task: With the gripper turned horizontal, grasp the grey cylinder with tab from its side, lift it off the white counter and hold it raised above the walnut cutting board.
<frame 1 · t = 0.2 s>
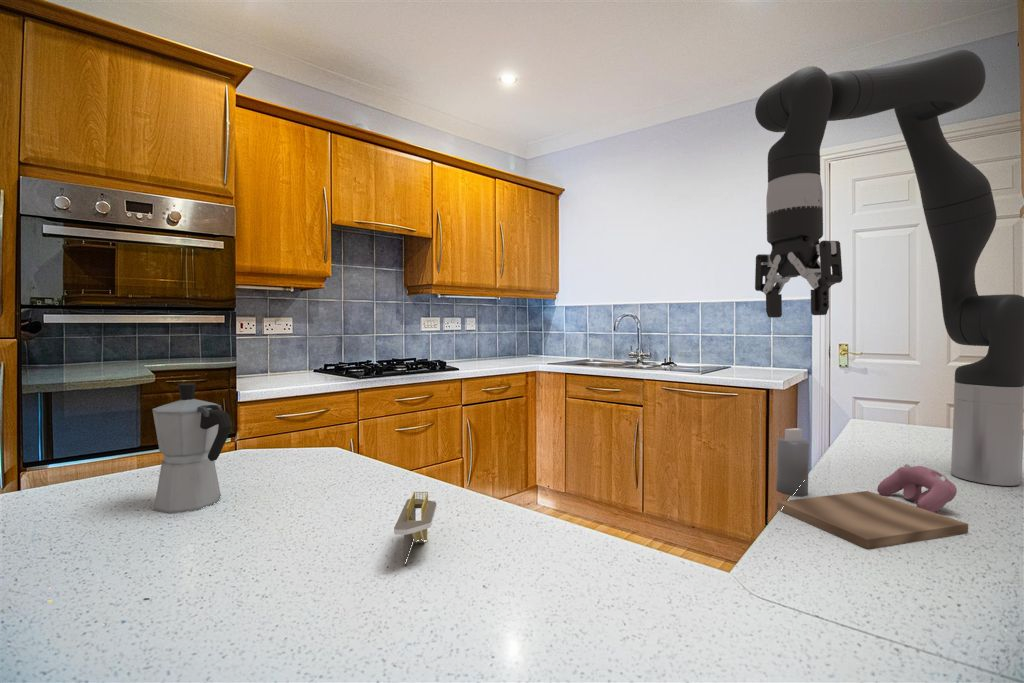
hand: (795, 316, 78), 29 cm above the counter, tool pointing down, fingers open, 8 cm apart
video game controller: (915, 505, 79), on the counter
platform: (417, 556, 61), on the counter
walnut board: (867, 520, 72), on the counter
coffee maker: (193, 505, 76), on the counter
grey cylinder with tab: (791, 491, 85), on the counter
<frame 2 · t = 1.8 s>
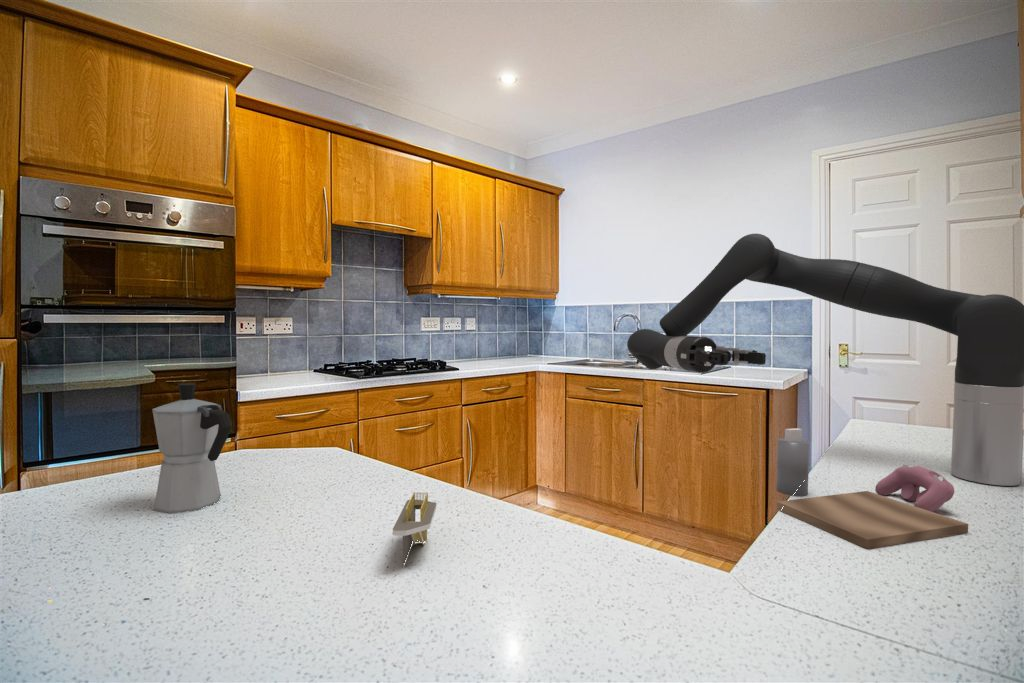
hand: (745, 359, 95), 21 cm above the counter, tool horizontal, fingers open, 8 cm apart
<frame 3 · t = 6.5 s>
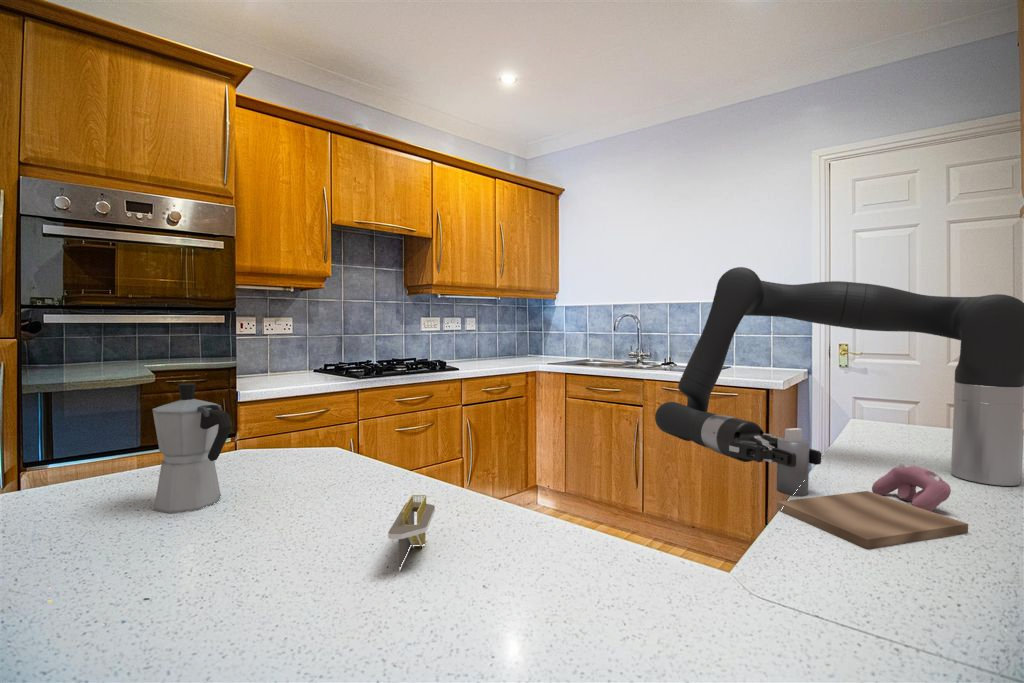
hand: (806, 459, 82), 6 cm above the counter, tool horizontal, fingers closed on grey cylinder with tab, 4 cm apart
grey cylinder with tab: (792, 491, 85), on the counter, touching gripper
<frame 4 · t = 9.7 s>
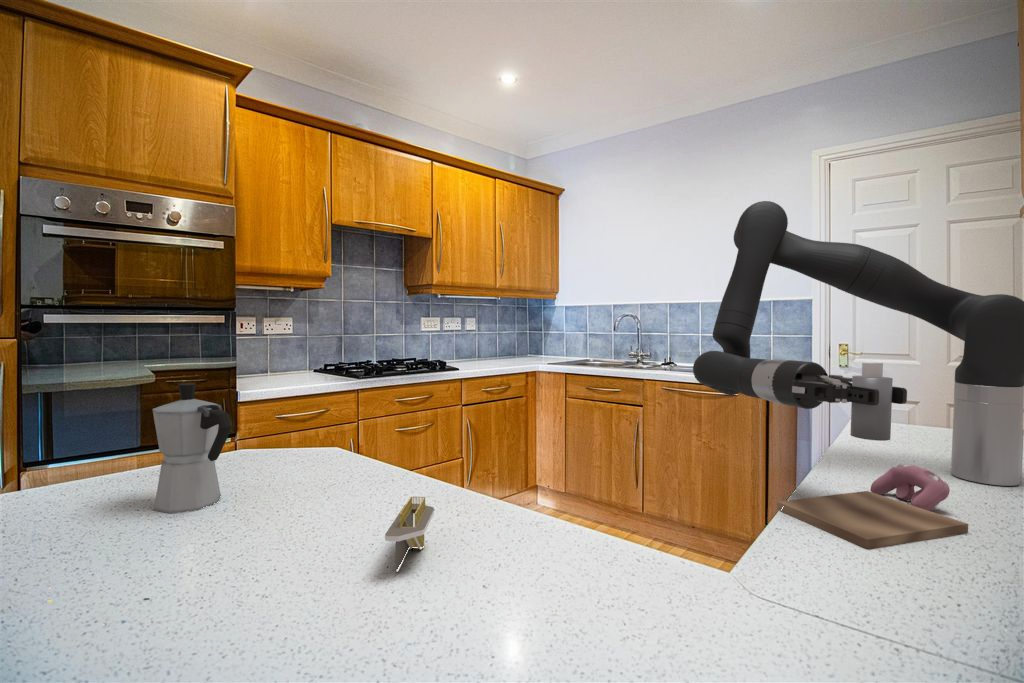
hand: (890, 396, 69), 18 cm above the counter, tool horizontal, fingers closed on grey cylinder with tab, 4 cm apart
grey cylinder with tab: (870, 436, 72), point 12 cm above the counter, touching gripper
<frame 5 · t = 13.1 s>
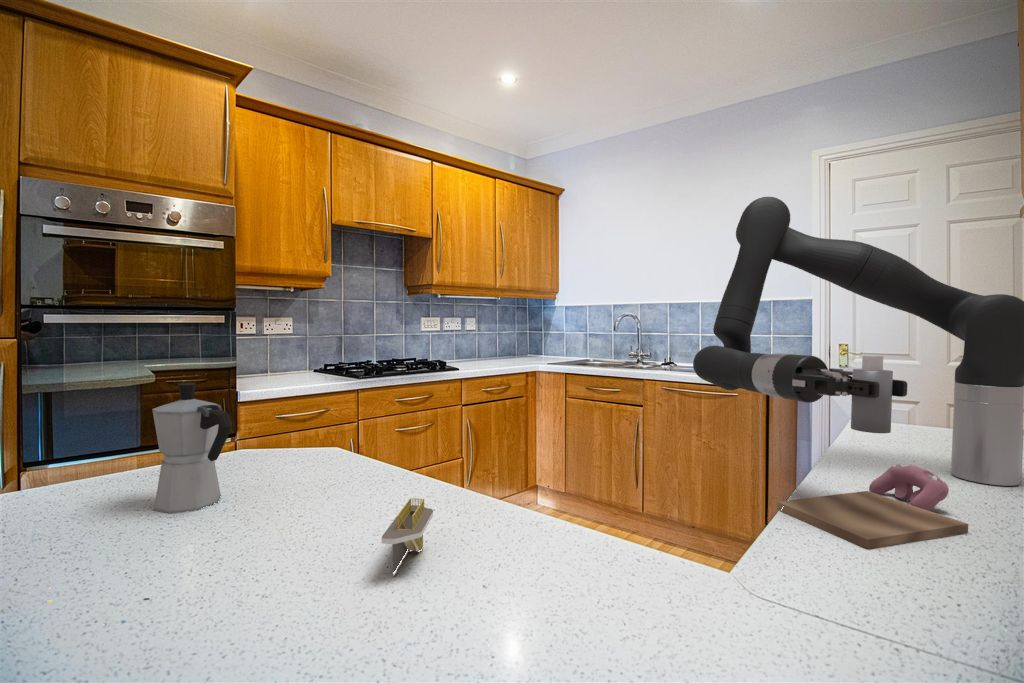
hand: (891, 389, 69), 19 cm above the counter, tool horizontal, fingers closed on grey cylinder with tab, 4 cm apart
grey cylinder with tab: (870, 429, 72), point 13 cm above the counter, touching gripper
at the end: the gripper is holding grey cylinder with tab; grey cylinder with tab point 12.9 cm above the counter; grey cylinder with tab inside the target area on the walnut board (0.0 cm from its centre), point 12.9 cm above the walnut board's base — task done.
